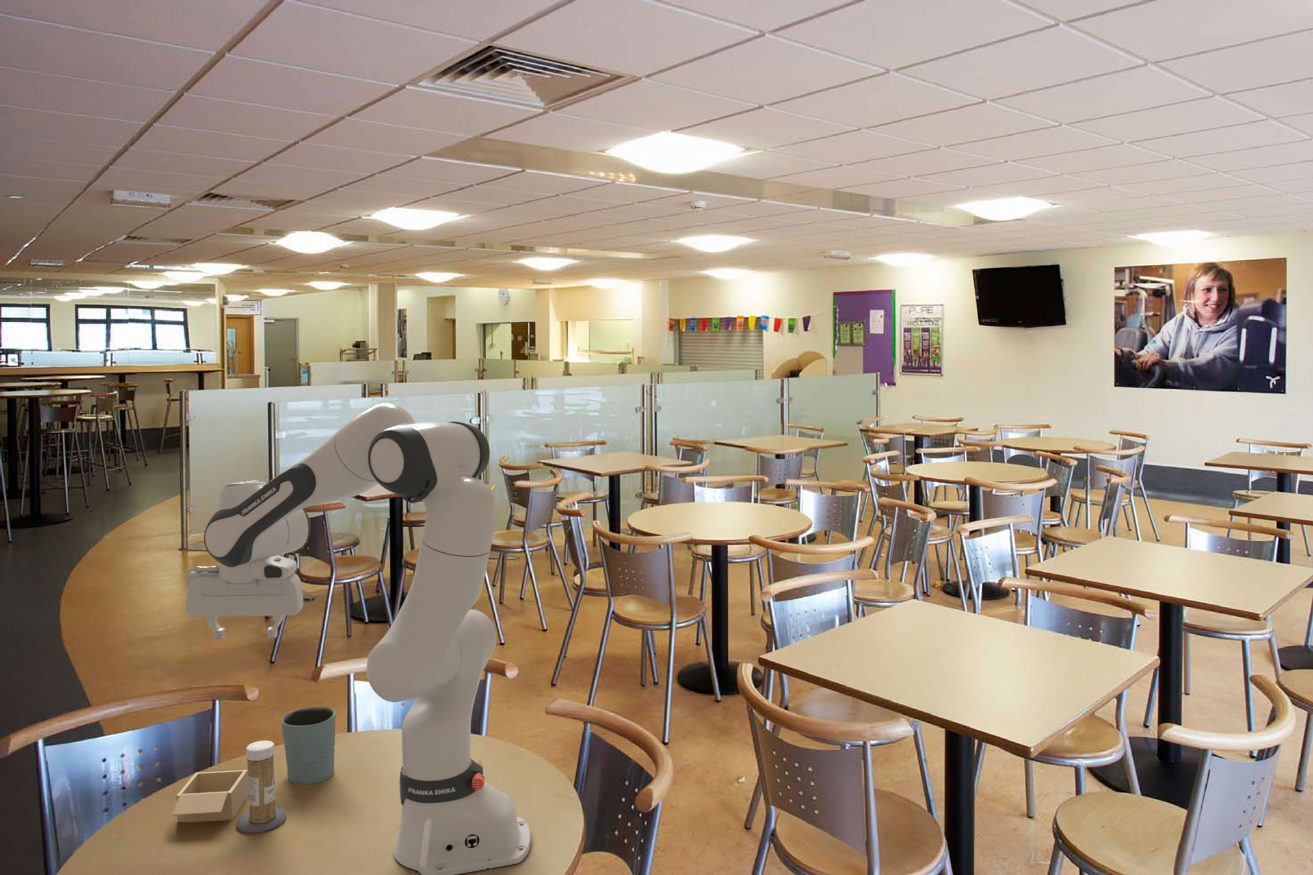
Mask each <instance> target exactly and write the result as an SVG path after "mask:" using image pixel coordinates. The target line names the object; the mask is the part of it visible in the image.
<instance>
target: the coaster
mask: <svg viewBox="0 0 1313 875" xmlns="http://www.w3.org/2000/svg"><path fill="white" fill-rule="evenodd" d="M275 810H276V816H275V817H274V818H273V819H272V820H270V821H268V822H265V823H259V824H256V823H252V822H250V821H249V816H250V813H249V812H250V811H249V812H246V813H243V815H241V816H240V817H239V818H238V819H237V821H236V828H237V830H238V831H239V832H240V833H244V834H259V833H260V834H261V833H265V832H269V831H272V830H274V829H277V828H278V827H280V826H281V825H283V824H284V822H286V820H287V813H286V811H285V810H284V809H283V808H281V807H276V806H275Z"/></svg>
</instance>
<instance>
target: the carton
mask: <svg viewBox="0 0 1313 875" xmlns="http://www.w3.org/2000/svg"><path fill="white" fill-rule="evenodd" d="M175 797H176V803H175V806H174V809H173V812H172V814H171V816H173V817H174V816H176V817H177V818H176V820H177V822H188V823H202V822H217V821H232V820H233V819H234V818H235V816H236V815H237V813H238V812H239V810H240V809H241V807H242V806H243V804H245V801H246V800H247V798H248V768H238V769H237V768H235V769H233V768H232V769H218V770H202V771H198V772H195V773H194V774H193V775H192V776H191V777H190V779H189V780H188V781H187V782H186V784H185V785H184V786H183V787H182V789H181V790H179V792H178V793H177V795H176V796H175Z"/></svg>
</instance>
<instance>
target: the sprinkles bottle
mask: <svg viewBox="0 0 1313 875" xmlns="http://www.w3.org/2000/svg"><path fill="white" fill-rule="evenodd" d="M274 755H275V744H274V742H273V741H271V740H258V741H254V742H252V743H250V744H248V745H247V746H246V748H245V758H246V761H247V769H248V797H247V798H248V805H249V806H248V807H249V808H248V809H249V813H250V816H249V821H250V822H252V823H256V824H259V823H265V822H268V821H270V820H272V819H273V818H274V817H275V816H276V810H275V807H276V783H275V782H276V781H275V769H274V767H275V765H274V762H275V760H274Z"/></svg>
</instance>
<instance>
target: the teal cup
mask: <svg viewBox="0 0 1313 875" xmlns="http://www.w3.org/2000/svg"><path fill="white" fill-rule="evenodd" d="M336 715H337V714H336V711H335V709H334V708H330V707H326V706H313V707H311V706H310V707H304V708H300V709H296V710H293V711H290V712H288V713H286V714H285V715H283V716H282V718H281V720H280V723H281V731H282V738H283V745H284V751H285V753H284V754H285V759H286V760H285V763H286V773H287V774H286V775H287V780H288V781H289V782H290V783H292V784H294V785H307V786H308V785H314V784H317V783H321V782H323V781H326V780H327V779H329V778H330V777H332V776H333V774H334V771H335V743H336V742H335V740H336V720H337V716H336Z"/></svg>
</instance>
